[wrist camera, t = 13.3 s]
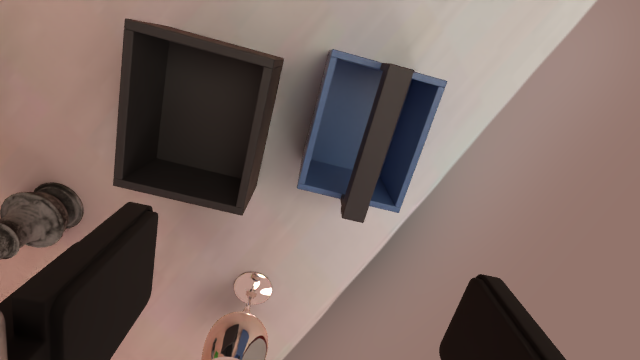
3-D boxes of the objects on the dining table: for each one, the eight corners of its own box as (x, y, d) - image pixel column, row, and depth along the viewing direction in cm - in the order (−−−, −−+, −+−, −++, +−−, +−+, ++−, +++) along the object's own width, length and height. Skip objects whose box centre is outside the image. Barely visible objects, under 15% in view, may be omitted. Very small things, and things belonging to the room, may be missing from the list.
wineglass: (220, 274, 40) (181, 360, 29) (268, 261, 40) (247, 344, 28) (238, 313, 42) (209, 409, 31) (284, 301, 41) (271, 394, 30)
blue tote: (329, 50, 32) (334, 48, 21) (418, 75, 33) (467, 85, 22) (301, 160, 36) (293, 206, 25) (382, 180, 36) (409, 234, 25)
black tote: (166, 25, 31) (124, 17, 25) (284, 58, 32) (274, 59, 26) (151, 161, 36) (112, 185, 29) (256, 186, 36) (242, 215, 30)
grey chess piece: (82, 182, 36) (-25, 239, 25) (89, 232, 38) (-7, 307, 27) (24, 177, 36) (-111, 233, 25) (34, 228, 38) (-86, 302, 27)
